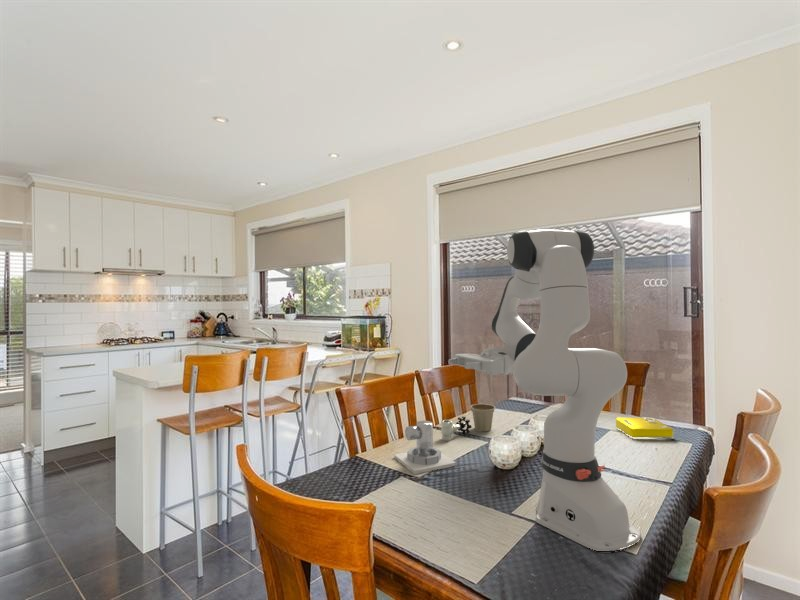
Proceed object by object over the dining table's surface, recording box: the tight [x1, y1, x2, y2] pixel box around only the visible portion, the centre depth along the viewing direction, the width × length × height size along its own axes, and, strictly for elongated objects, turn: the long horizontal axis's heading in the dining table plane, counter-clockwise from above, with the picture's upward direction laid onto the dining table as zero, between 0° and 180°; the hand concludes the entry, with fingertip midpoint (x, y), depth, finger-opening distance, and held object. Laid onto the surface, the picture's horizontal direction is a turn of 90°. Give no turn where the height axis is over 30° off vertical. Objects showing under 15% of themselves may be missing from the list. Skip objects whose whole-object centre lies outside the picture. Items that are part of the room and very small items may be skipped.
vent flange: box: [393, 446, 457, 475], centre depth 134 cm, size 14×14×3 cm
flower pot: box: [470, 403, 496, 432], centre depth 167 cm, size 9×9×9 cm
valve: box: [440, 415, 472, 442], centre depth 158 cm, size 7×7×12 cm
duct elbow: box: [404, 420, 434, 457], centre depth 133 cm, size 5×8×11 cm, turn 115°
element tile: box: [615, 417, 674, 437], centre depth 162 cm, size 15×15×5 cm
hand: (457, 364), depth 139 cm, fingers open, 8 cm apart
